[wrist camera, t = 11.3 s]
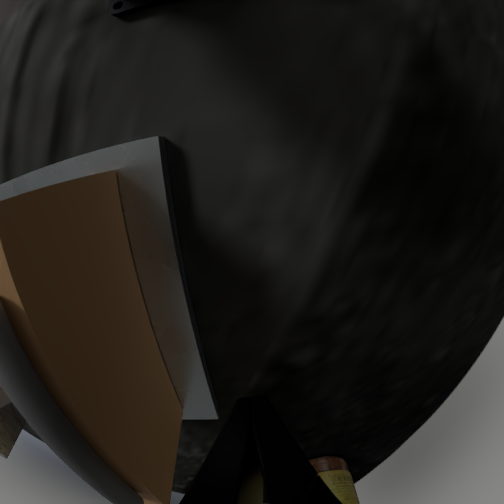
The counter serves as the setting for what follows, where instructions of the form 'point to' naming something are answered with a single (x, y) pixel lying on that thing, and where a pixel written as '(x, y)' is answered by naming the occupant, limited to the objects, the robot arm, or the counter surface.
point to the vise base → (140, 266)
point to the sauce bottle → (336, 478)
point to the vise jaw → (85, 340)
